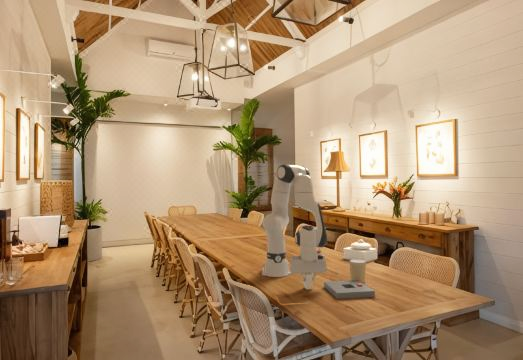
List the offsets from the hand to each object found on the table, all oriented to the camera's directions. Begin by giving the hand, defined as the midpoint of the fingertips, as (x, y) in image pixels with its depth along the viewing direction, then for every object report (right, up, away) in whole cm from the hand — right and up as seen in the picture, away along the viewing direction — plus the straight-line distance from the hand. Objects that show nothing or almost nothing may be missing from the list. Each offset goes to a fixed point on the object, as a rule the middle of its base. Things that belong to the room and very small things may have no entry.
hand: (308, 280), depth 191 cm
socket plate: (+20, -4, -6) cm, 22 cm away
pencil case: (+18, -5, +90) cm, 92 cm away
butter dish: (+48, -5, +68) cm, 83 cm away
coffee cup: (+31, -4, +13) cm, 34 cm away
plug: (0, -4, +1) cm, 4 cm away
